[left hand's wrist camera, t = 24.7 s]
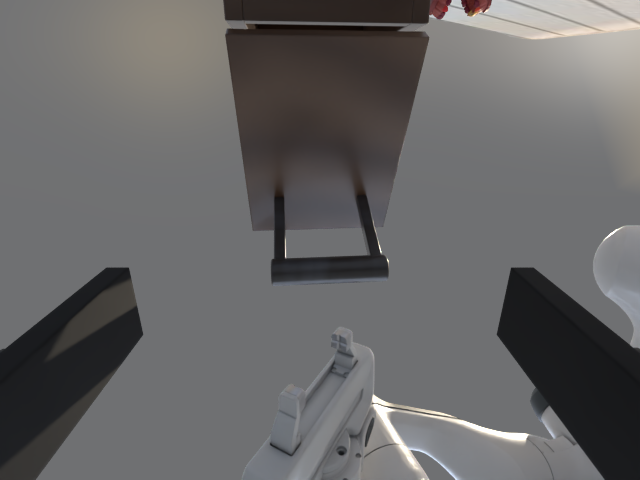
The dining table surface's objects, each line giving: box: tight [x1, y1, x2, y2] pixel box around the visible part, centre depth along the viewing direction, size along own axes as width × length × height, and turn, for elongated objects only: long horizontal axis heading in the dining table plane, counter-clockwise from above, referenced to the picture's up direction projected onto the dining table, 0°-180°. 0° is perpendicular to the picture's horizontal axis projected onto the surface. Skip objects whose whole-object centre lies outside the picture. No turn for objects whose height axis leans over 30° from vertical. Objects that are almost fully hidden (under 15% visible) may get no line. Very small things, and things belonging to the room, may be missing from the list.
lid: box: [225, 29, 429, 286], centre depth 21 cm, size 14×10×8 cm
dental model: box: [429, 0, 492, 19], centre depth 47 cm, size 6×4×8 cm
